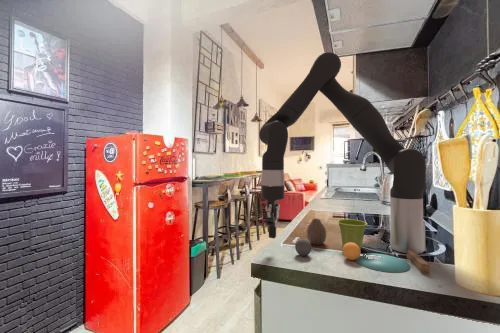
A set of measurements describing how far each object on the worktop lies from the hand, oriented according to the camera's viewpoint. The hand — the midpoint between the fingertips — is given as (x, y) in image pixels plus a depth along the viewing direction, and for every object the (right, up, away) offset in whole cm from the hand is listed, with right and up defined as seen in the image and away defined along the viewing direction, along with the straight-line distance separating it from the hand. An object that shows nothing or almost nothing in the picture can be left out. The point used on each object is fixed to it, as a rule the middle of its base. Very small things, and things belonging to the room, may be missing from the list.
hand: (272, 237), depth 81 cm
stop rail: (+39, -5, -11) cm, 41 cm away
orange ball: (+23, -2, -7) cm, 24 cm away
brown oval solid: (+17, -5, +9) cm, 20 cm away
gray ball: (+9, -2, -3) cm, 10 cm away
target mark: (+31, -5, -9) cm, 32 cm away
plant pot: (+28, -5, +5) cm, 29 cm away
